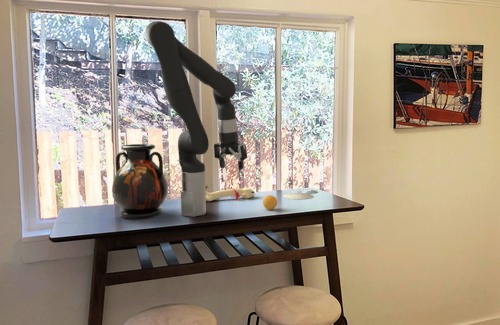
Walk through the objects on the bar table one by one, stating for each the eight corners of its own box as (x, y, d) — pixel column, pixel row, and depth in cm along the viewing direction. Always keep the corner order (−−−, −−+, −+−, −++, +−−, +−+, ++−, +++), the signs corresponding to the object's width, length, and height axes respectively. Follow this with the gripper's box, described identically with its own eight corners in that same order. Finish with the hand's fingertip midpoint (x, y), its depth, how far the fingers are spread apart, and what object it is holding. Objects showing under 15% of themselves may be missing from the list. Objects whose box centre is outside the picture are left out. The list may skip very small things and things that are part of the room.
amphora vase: (103, 221, 162) (99, 147, 159) (127, 208, 183) (123, 143, 180) (158, 222, 159) (155, 147, 156) (175, 209, 181) (173, 143, 177)
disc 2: (313, 194, 208) (313, 194, 208) (294, 192, 213) (294, 192, 213) (320, 191, 216) (320, 190, 216) (301, 189, 221) (301, 189, 221)
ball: (273, 211, 174) (273, 197, 173) (260, 210, 177) (260, 196, 176) (279, 208, 179) (279, 194, 178) (266, 207, 182) (266, 193, 181)
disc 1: (306, 200, 195) (306, 200, 195) (278, 197, 201) (278, 197, 201) (317, 194, 207) (317, 194, 207) (290, 192, 214) (290, 192, 214)
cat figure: (205, 207, 191) (258, 198, 199) (203, 187, 190) (256, 179, 197) (201, 202, 200) (251, 194, 208) (199, 184, 199) (250, 176, 207)
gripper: (208, 131, 172) (212, 170, 176) (238, 132, 165) (242, 172, 169) (218, 127, 178) (222, 164, 182) (248, 128, 171) (251, 167, 176)
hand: (231, 168), depth 176 cm, fingers open, 8 cm apart
